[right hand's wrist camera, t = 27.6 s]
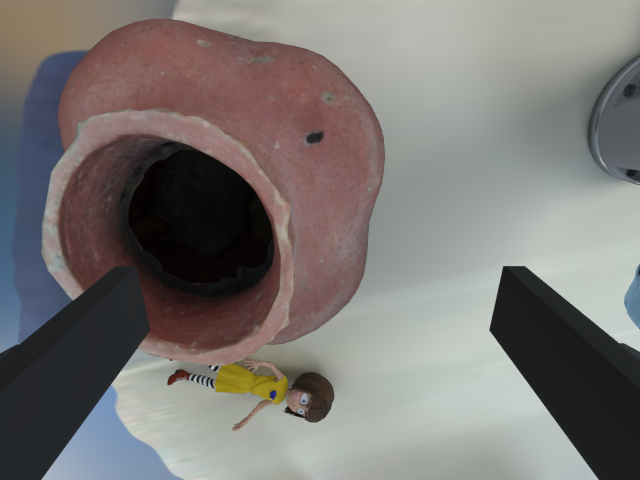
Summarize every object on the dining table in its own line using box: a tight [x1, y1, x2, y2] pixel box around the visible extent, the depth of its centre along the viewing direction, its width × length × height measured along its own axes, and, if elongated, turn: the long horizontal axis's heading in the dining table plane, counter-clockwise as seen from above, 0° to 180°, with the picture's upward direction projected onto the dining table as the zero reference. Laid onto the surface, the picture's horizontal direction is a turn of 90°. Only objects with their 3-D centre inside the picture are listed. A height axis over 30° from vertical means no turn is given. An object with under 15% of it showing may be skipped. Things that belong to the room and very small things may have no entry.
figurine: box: [167, 359, 334, 431], centre depth 53 cm, size 13×8×25 cm
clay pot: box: [41, 19, 385, 366], centre depth 32 cm, size 30×30×25 cm
